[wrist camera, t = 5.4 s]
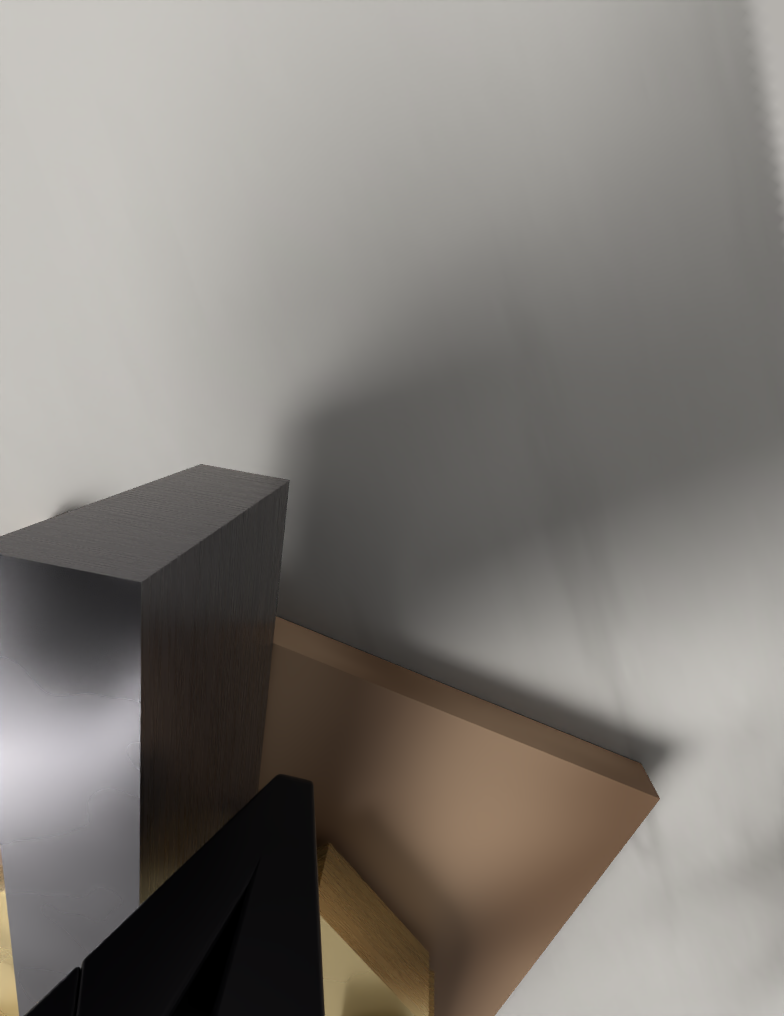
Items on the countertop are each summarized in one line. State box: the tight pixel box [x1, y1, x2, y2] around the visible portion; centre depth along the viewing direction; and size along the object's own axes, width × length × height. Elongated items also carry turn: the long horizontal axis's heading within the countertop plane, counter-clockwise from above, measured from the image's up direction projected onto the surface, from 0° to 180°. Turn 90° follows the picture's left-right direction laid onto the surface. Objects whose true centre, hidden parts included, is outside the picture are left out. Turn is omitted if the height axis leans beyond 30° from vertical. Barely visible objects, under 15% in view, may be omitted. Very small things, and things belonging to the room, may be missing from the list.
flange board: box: [0, 616, 660, 1016], centre depth 13 cm, size 17×22×3 cm
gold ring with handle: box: [0, 464, 434, 1016], centre depth 10 cm, size 21×12×5 cm, turn 171°
